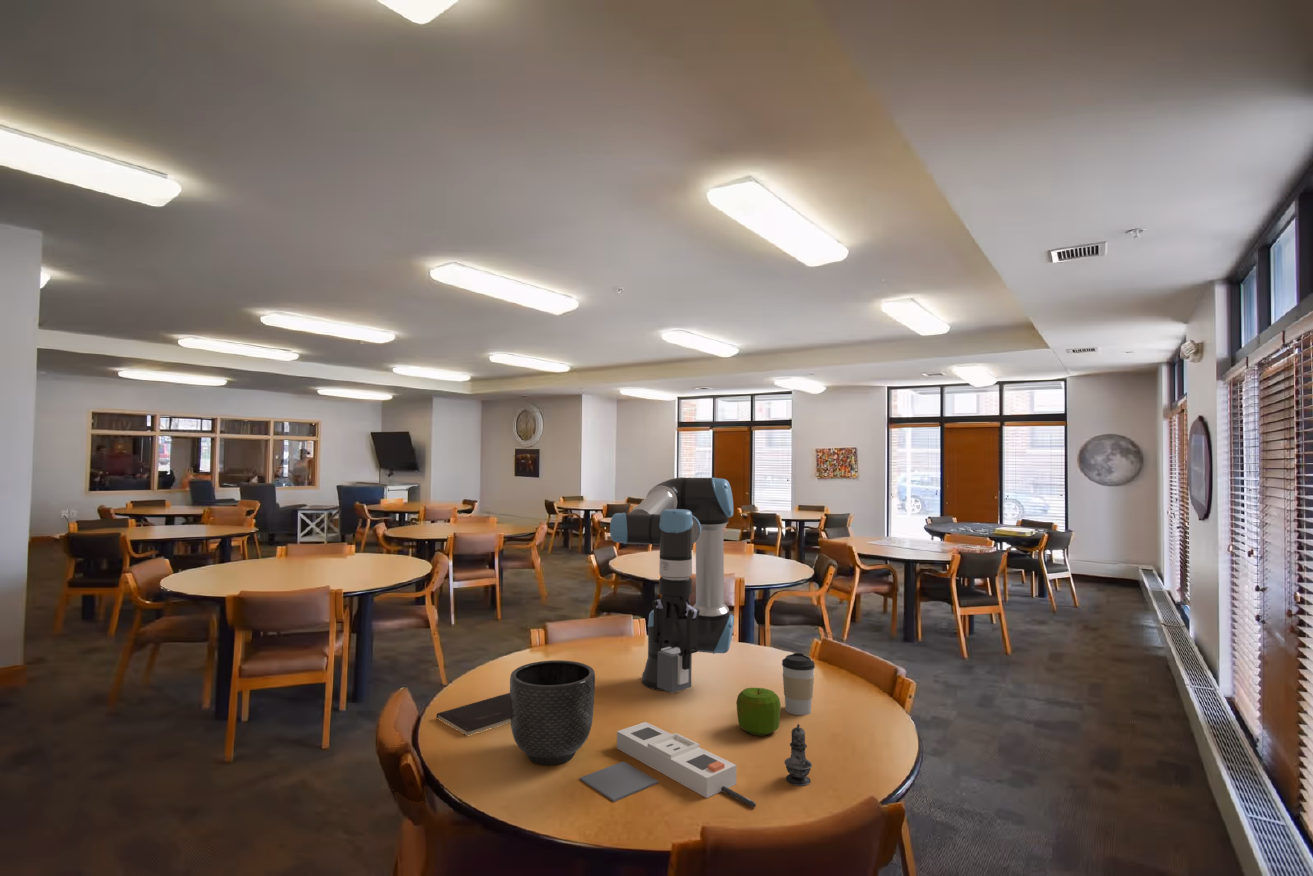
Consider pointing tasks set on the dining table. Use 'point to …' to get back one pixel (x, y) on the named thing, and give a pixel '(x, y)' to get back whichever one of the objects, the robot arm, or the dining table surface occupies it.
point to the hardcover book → (479, 715)
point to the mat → (618, 781)
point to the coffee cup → (798, 683)
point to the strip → (680, 760)
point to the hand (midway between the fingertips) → (674, 679)
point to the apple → (758, 711)
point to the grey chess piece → (798, 759)
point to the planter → (551, 709)
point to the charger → (670, 671)
